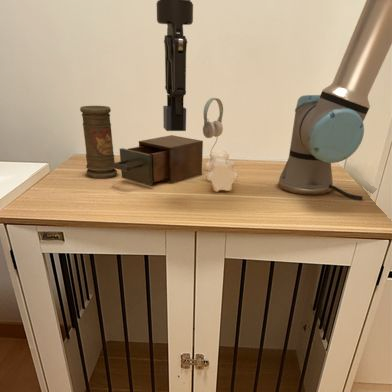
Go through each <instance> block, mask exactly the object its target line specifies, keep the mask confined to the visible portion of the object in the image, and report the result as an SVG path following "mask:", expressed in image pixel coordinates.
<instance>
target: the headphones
mask: <svg viewBox="0 0 392 392" xmlns="http://www.w3.org/2000/svg"><path fill="white" fill-rule="evenodd" d="M213 101H216V103H217V105H218V109H219V115H218V117H217V119H216V120H214V121H209V119H208V111H209V108H210V106H211V104H212V102H213ZM223 115H224V105H223V102H222V100H220V98H217V97H210V98H209V99H208V100H207V101H206V102H205V104H204V107H203V125H202V134H203V136H204V137H205V138H206V139H211V138H213V137H215V138H218V137H220V136H221V135H222V133H223V129H224V127H223V124H222V122H223ZM217 142H218V139H216V140H215V142H214V143H213V146H212V147H211V150H210V152H213V149H214V147H215V145H216V144H217Z"/></svg>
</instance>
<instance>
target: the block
mask: <svg viewBox="0 0 392 392" xmlns="http://www.w3.org/2000/svg"><path fill="white" fill-rule="evenodd" d="M162 107H163V108H162V110H163V112H162V113H163V118H162V119H163V129H164V130H165V131H166V132H186V131H187V108H186V107H184V106H183V130H171V106H167V105H163V106H162Z"/></svg>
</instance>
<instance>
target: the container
mask: <svg viewBox="0 0 392 392" xmlns="http://www.w3.org/2000/svg"><path fill="white" fill-rule="evenodd" d="M79 110H80V112H81V117H82V128H83V129H82V130H83V136H84V144H85V145H84V146H85V159H86V166H85V168H86V169H87V170H86V176H87V177H89V178H93V179H110V178H114V177H116V176H117V175H118V169H115V168H111V167H110V166H109V163H110V162H114V163H116V162H115V154H114V144H113V135H112V133H113V132H112V123H111V114H110V113H111V111H112V109H111V107H110V106H106V105H82V106H80V108H79Z"/></svg>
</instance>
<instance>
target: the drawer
mask: <svg viewBox="0 0 392 392" xmlns="http://www.w3.org/2000/svg"><path fill="white" fill-rule="evenodd" d="M119 159H120V161H117V162H115V161H114V162H115V163H114V162H110V163H109V166H110V167H111V168H115V169H116V170H120V171H121V172H120V173H121V179H125V180H127V181H128V180H129V181H132V182H136V183H139V184H143V185H146V186H152V185H153V183H156V182H159V181H160V180H163V179H167V178H169V150H165V149H160V148H155V147H151V146H146V145H144V146H139V145H138V146H134V147H129V148H123V147H122V148H119ZM160 182H161V181H160Z"/></svg>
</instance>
